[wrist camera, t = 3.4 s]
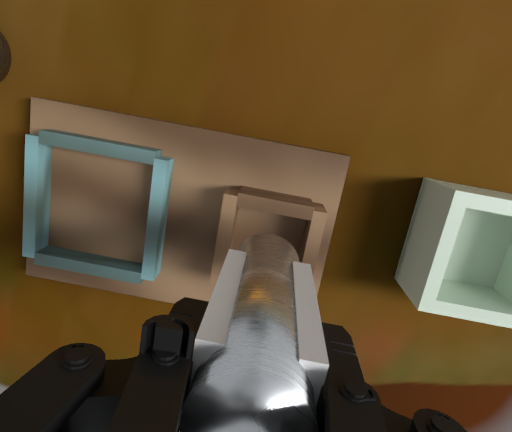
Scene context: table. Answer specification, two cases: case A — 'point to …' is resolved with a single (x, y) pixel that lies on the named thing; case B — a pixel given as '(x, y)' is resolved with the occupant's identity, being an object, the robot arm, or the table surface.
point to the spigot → (4, 57)
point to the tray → (459, 253)
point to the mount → (164, 200)
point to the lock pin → (256, 354)
